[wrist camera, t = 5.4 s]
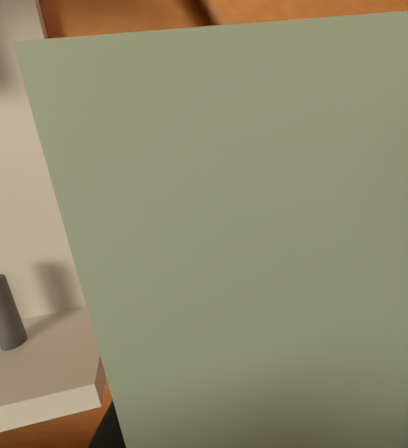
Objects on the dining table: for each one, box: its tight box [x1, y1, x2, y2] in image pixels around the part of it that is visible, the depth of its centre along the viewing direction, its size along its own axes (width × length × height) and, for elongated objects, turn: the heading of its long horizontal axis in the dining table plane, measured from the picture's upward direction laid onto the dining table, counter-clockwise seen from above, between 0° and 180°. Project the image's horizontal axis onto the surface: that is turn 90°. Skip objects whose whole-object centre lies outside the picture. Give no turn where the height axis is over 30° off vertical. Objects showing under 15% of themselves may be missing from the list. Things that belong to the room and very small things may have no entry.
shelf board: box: [12, 11, 408, 448], centre depth 7 cm, size 14×5×4 cm, turn 7°
